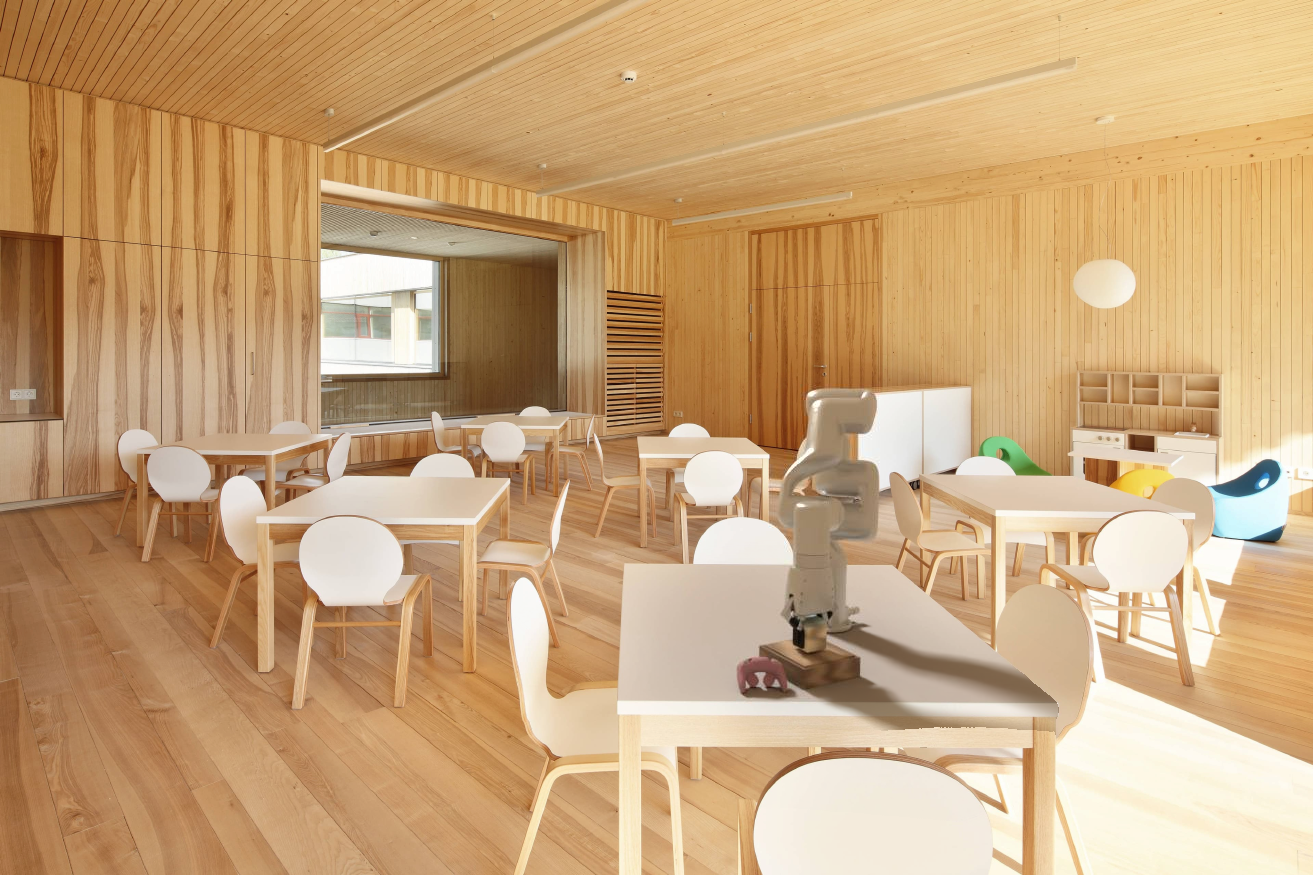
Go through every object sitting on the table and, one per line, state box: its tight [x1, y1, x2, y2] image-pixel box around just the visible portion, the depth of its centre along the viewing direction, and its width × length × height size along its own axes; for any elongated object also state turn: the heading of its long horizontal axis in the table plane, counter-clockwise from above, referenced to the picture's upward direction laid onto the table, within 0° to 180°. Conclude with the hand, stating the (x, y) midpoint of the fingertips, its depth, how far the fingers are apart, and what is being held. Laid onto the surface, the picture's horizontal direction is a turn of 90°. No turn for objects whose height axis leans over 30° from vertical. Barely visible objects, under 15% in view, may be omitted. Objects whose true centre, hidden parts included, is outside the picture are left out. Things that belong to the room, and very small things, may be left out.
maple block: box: [794, 615, 828, 653], centre depth 153 cm, size 5×5×6 cm
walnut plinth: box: [758, 638, 862, 690], centre depth 154 cm, size 15×15×4 cm
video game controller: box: [736, 656, 788, 694], centre depth 144 cm, size 10×5×7 cm, turn 93°
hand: (809, 643), depth 153 cm, fingers closed on maple block, 5 cm apart
